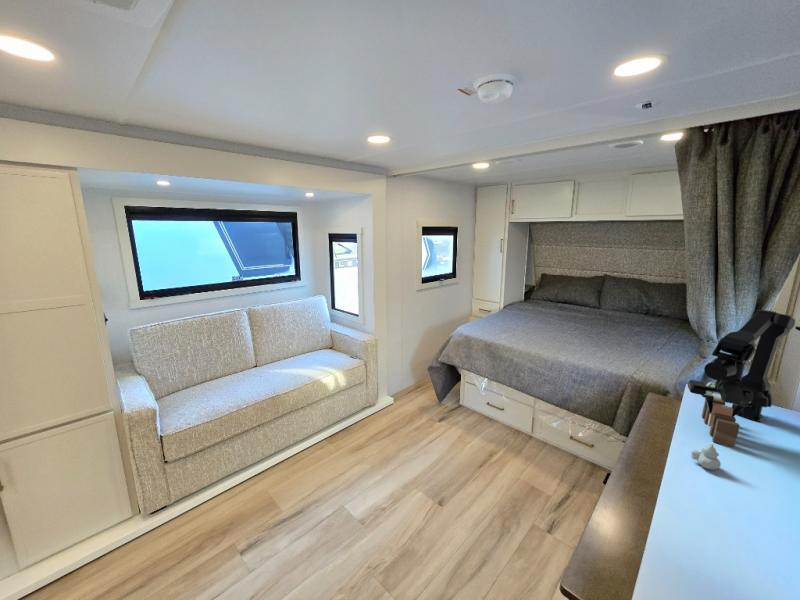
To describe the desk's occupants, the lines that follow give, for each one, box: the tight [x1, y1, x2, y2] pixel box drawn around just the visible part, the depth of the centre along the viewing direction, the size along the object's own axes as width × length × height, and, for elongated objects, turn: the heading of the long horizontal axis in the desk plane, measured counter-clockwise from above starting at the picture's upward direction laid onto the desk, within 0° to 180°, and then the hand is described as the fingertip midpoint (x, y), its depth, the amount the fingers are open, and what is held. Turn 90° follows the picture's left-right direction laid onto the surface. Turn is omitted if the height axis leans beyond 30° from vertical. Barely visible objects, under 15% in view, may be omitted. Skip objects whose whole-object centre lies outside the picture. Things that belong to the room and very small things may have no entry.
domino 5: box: [711, 419, 741, 448], centre depth 106 cm, size 2×5×8 cm, turn 57°
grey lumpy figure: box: [690, 443, 721, 471], centre depth 96 cm, size 5×7×8 cm
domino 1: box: [701, 398, 726, 419], centre depth 119 cm, size 2×5×8 cm, turn 58°
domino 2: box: [703, 403, 727, 426], centre depth 116 cm, size 2×5×8 cm, turn 57°
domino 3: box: [708, 404, 733, 427], centre depth 112 cm, size 2×5×8 cm, turn 57°
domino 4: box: [708, 413, 737, 437], centre depth 109 cm, size 2×5×8 cm, turn 57°
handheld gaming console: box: [705, 381, 730, 403], centre depth 138 cm, size 10×2×15 cm
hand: (720, 415), depth 112 cm, fingers closed on domino 3, 5 cm apart
